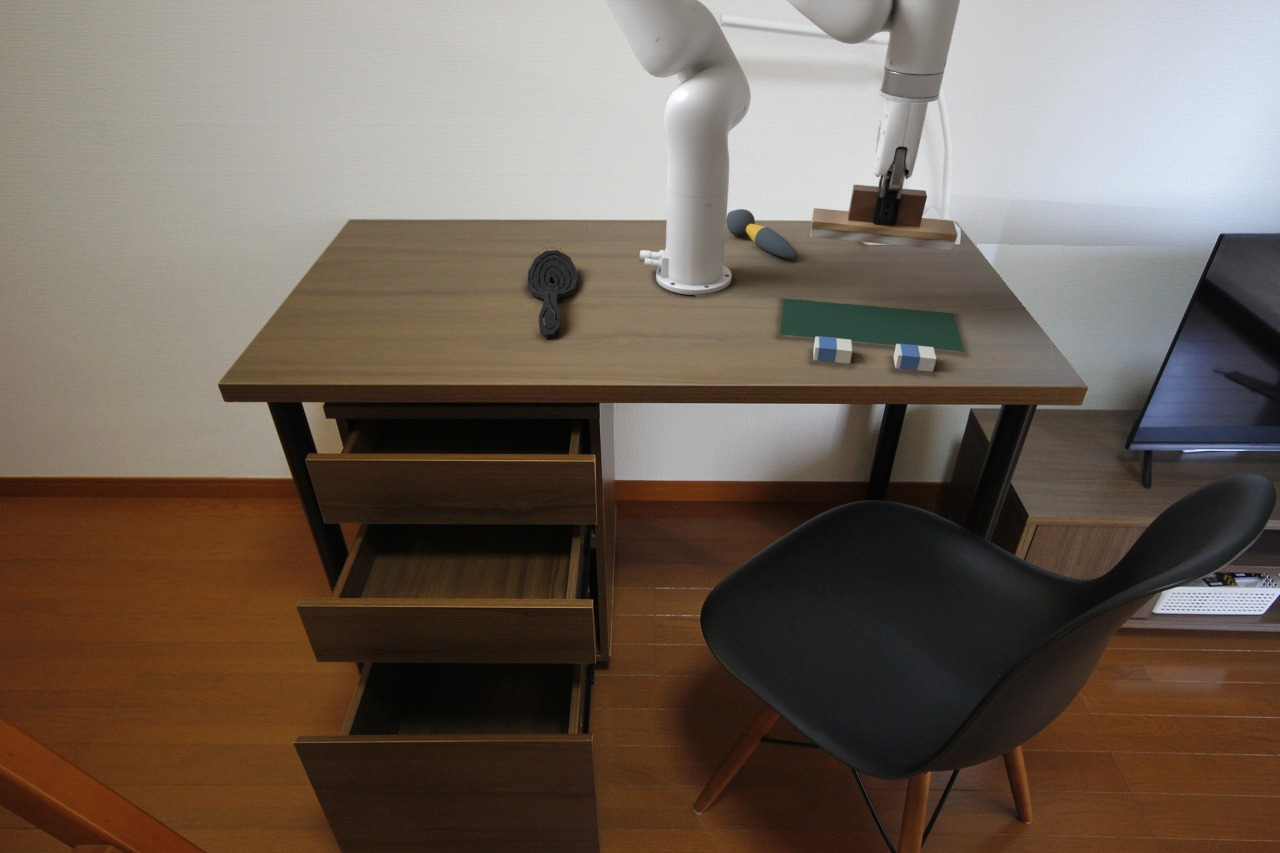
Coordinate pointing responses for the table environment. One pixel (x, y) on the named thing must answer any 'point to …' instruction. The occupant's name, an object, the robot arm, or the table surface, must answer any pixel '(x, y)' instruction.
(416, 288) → the table surface
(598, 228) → the table surface
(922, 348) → the eraser right
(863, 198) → the scrub brush
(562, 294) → the hairbrush
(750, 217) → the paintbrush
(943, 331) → the desk mat
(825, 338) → the eraser left
